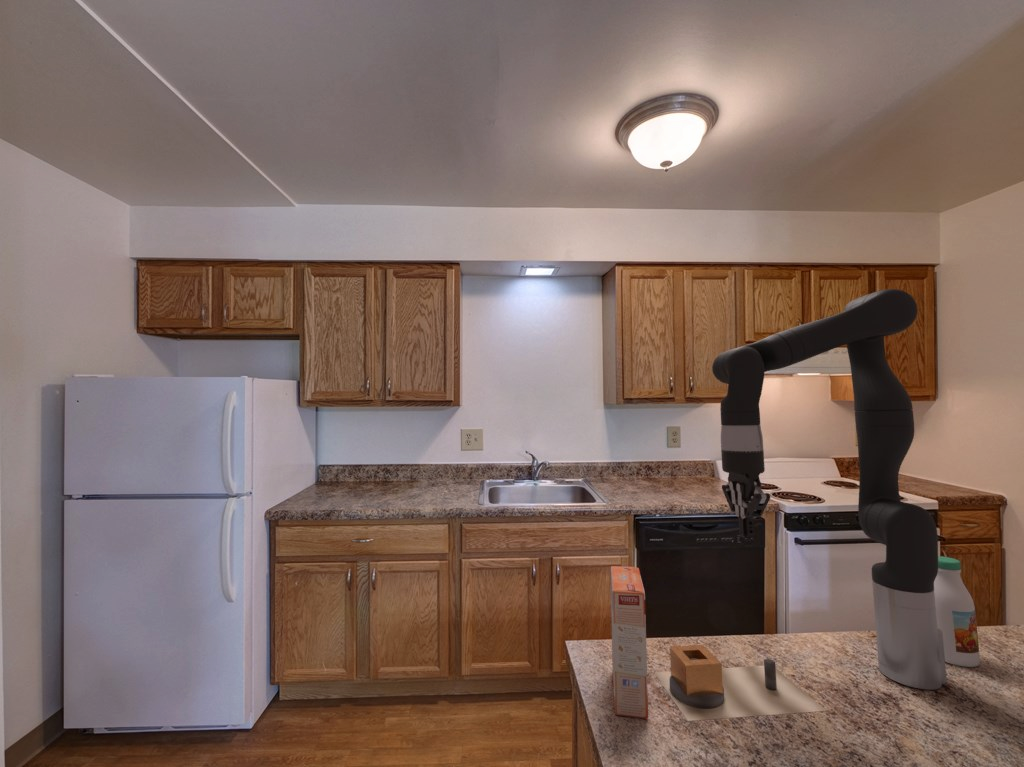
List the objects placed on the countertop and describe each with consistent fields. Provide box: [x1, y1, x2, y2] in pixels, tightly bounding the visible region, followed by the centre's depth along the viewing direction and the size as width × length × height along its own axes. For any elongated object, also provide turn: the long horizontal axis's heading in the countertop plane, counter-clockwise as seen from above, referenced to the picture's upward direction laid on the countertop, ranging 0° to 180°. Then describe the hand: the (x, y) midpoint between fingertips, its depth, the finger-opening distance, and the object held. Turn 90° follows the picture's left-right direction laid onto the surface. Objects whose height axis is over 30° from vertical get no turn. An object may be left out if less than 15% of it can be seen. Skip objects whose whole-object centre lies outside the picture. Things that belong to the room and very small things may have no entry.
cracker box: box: [610, 565, 649, 719], centre depth 84 cm, size 14×6×21 cm, turn 168°
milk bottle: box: [934, 555, 981, 668], centre depth 94 cm, size 8×8×20 cm
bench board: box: [653, 658, 828, 722], centre depth 82 cm, size 24×14×7 cm, turn 95°
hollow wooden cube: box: [669, 644, 723, 696], centre depth 81 cm, size 6×6×5 cm
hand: (746, 537), depth 89 cm, fingers closed
